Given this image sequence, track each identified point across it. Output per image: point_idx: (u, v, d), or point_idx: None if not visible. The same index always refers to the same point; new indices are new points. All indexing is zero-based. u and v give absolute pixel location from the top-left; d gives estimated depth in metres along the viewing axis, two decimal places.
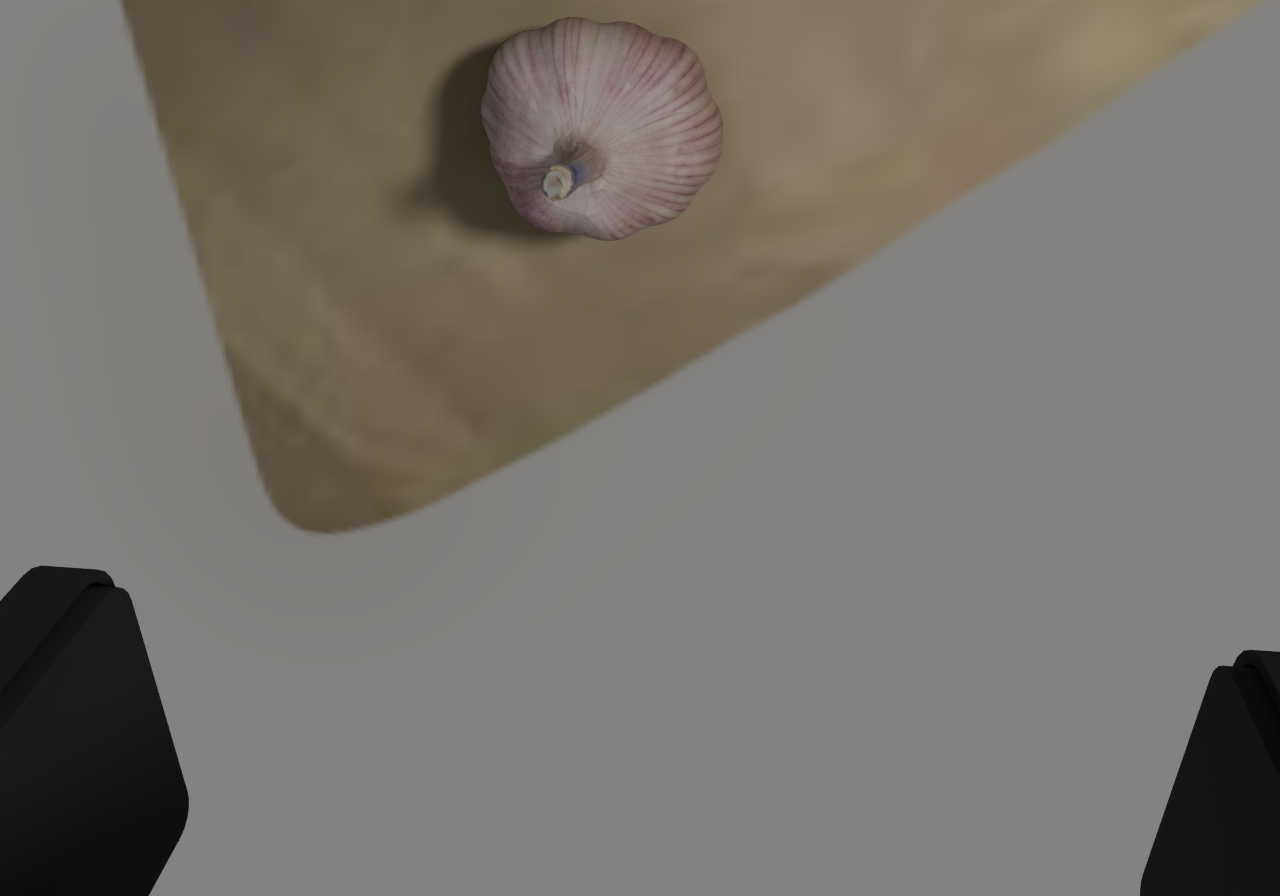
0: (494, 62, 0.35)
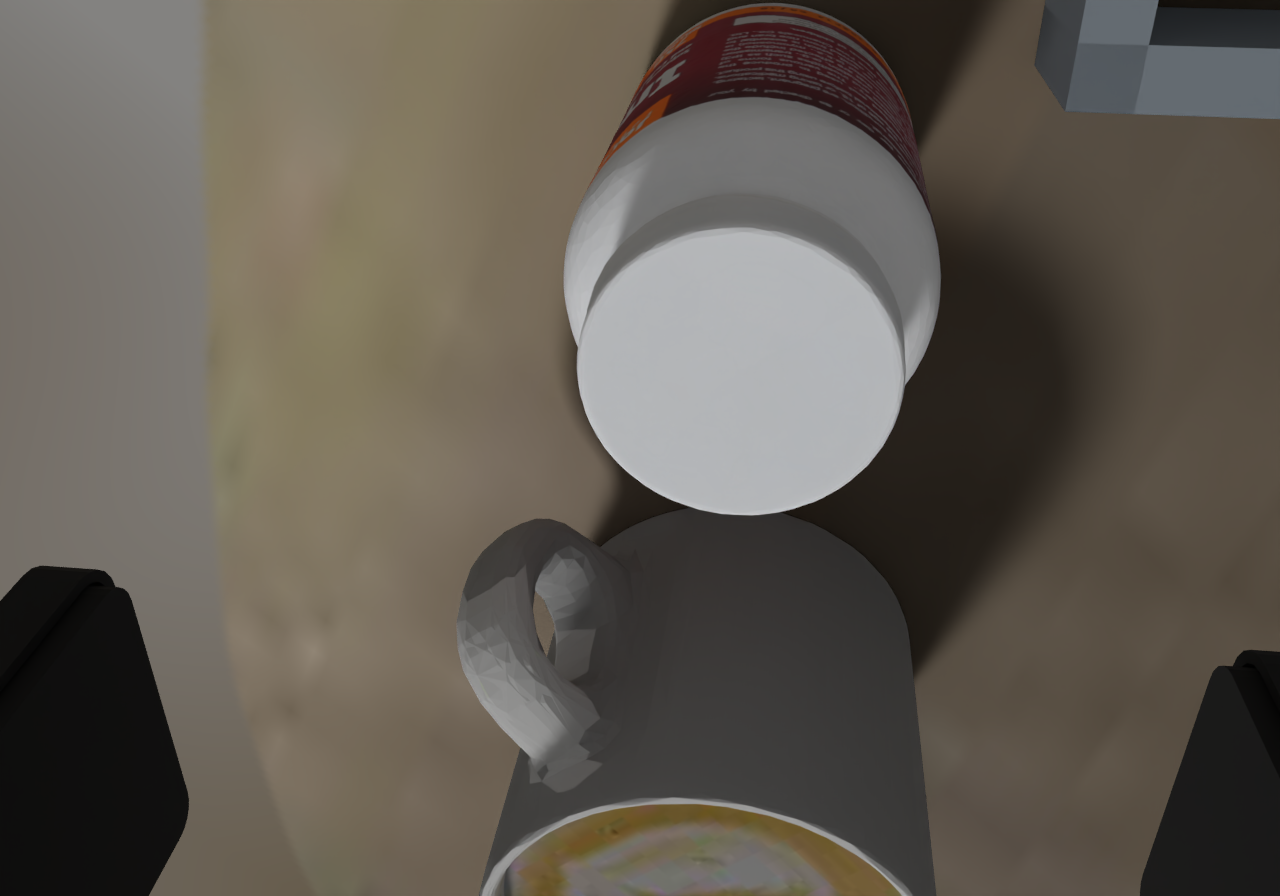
0: None
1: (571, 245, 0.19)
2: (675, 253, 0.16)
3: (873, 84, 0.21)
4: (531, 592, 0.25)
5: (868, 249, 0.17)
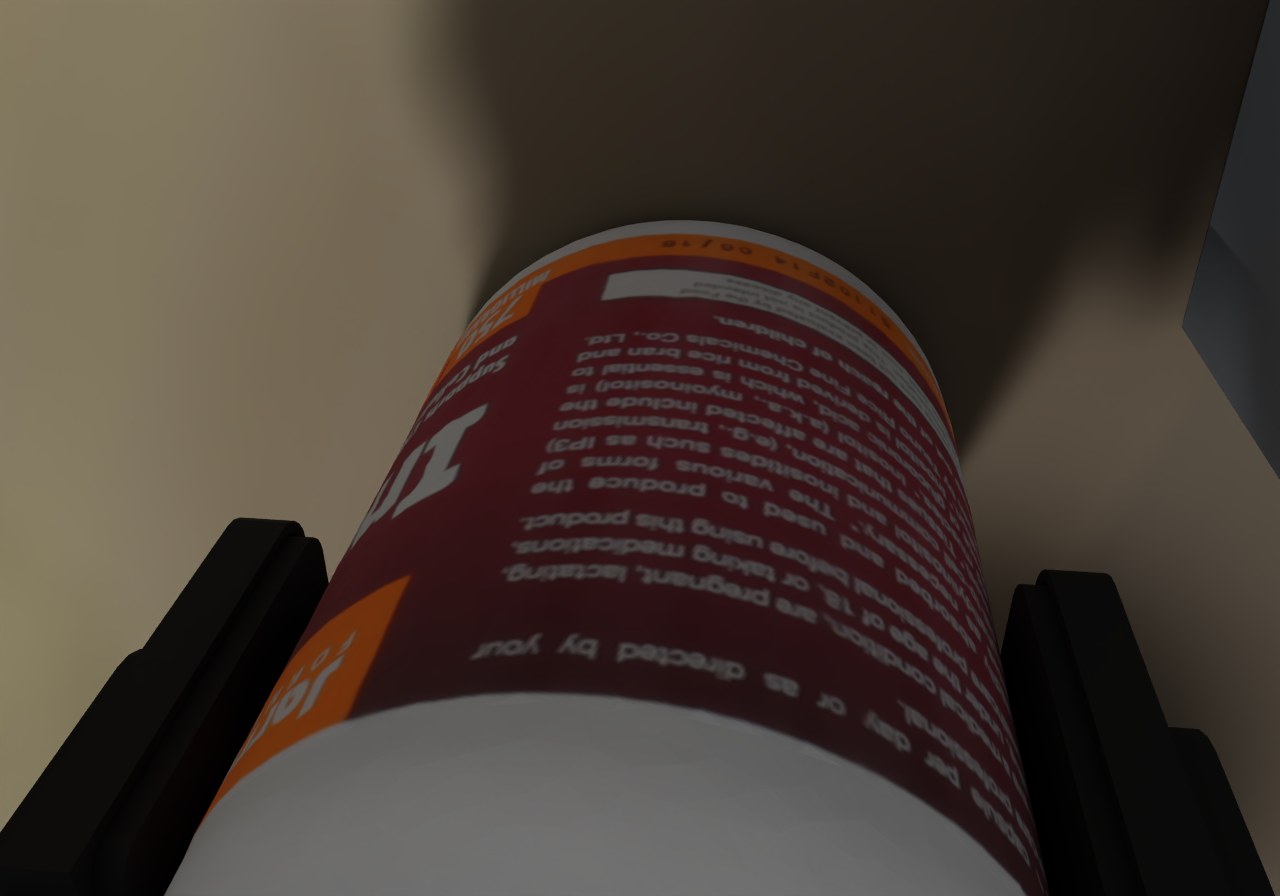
0: None
1: None
2: None
3: (892, 465, 0.10)
4: None
5: None
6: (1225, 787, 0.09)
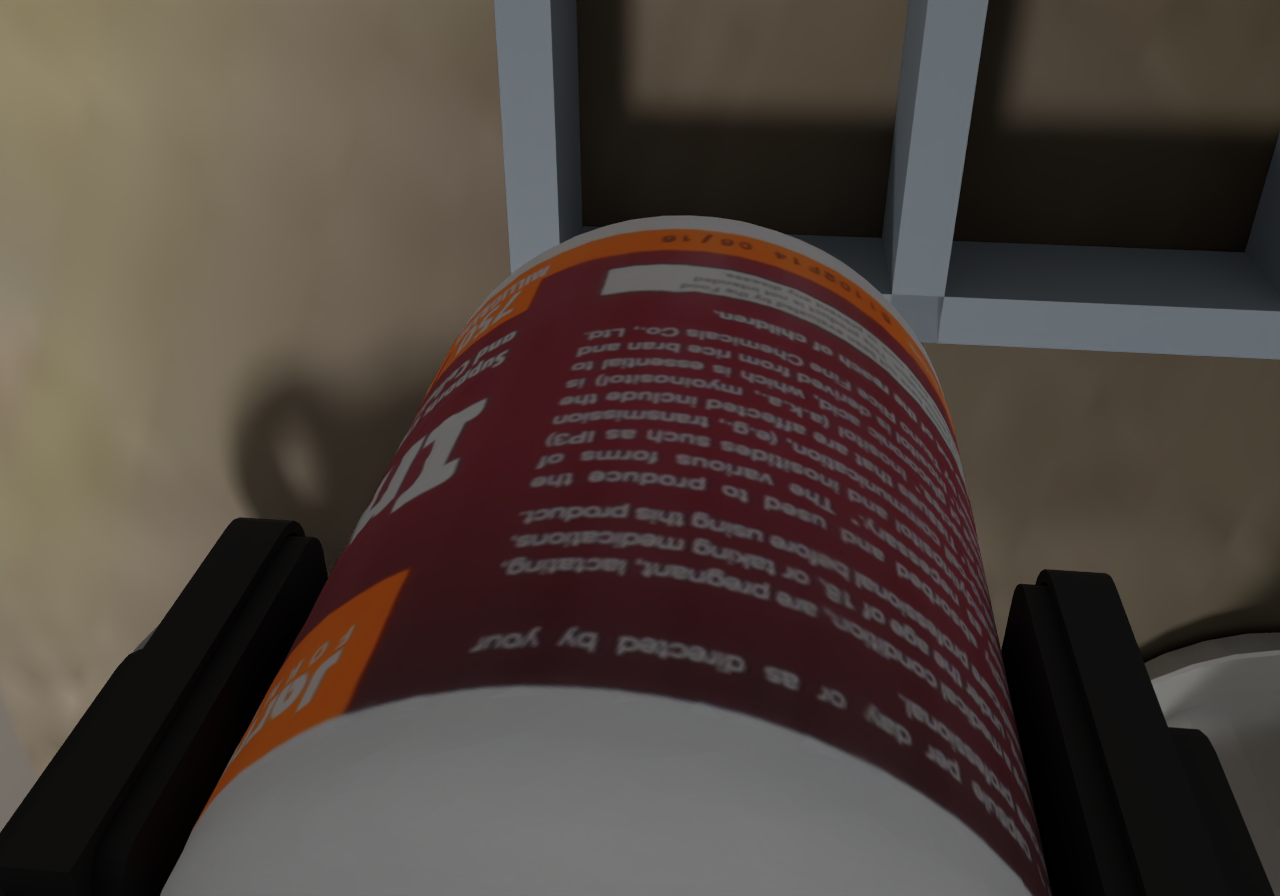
0: None
1: None
2: None
3: (892, 460, 0.10)
4: None
5: None
6: (1224, 787, 0.09)
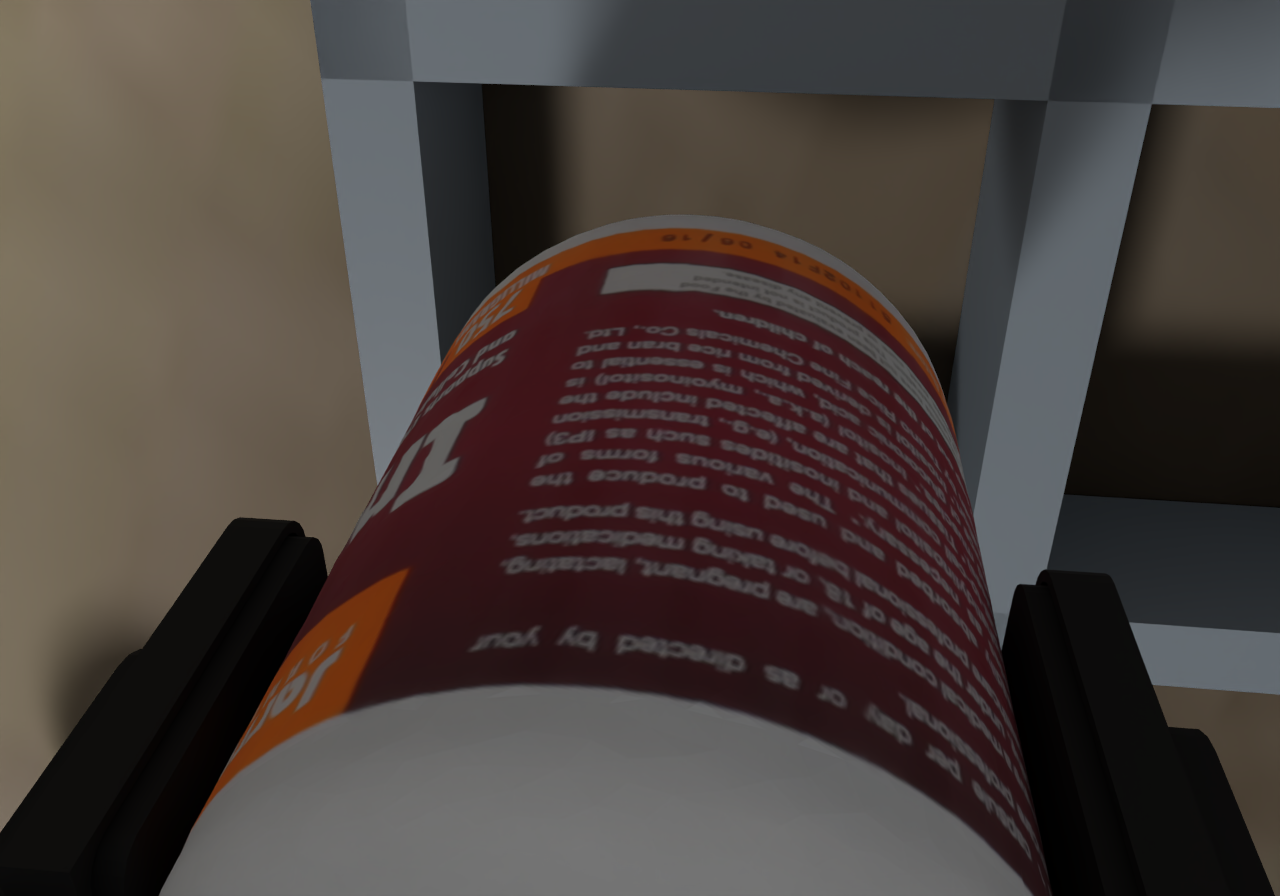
0: None
1: None
2: None
3: (892, 459, 0.10)
4: None
5: None
6: (1225, 787, 0.09)
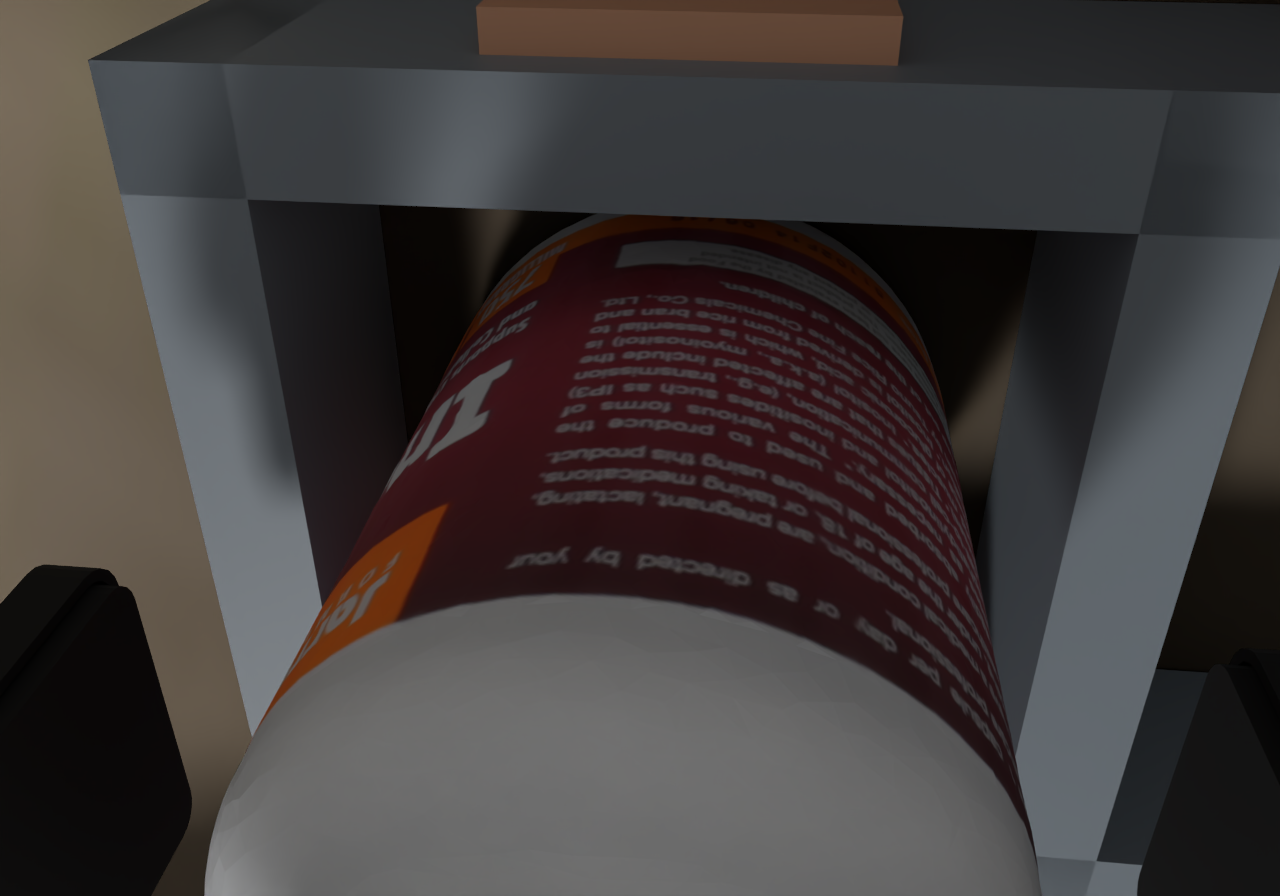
0: None
1: (206, 884, 0.08)
2: None
3: (883, 416, 0.11)
4: None
5: None
6: None
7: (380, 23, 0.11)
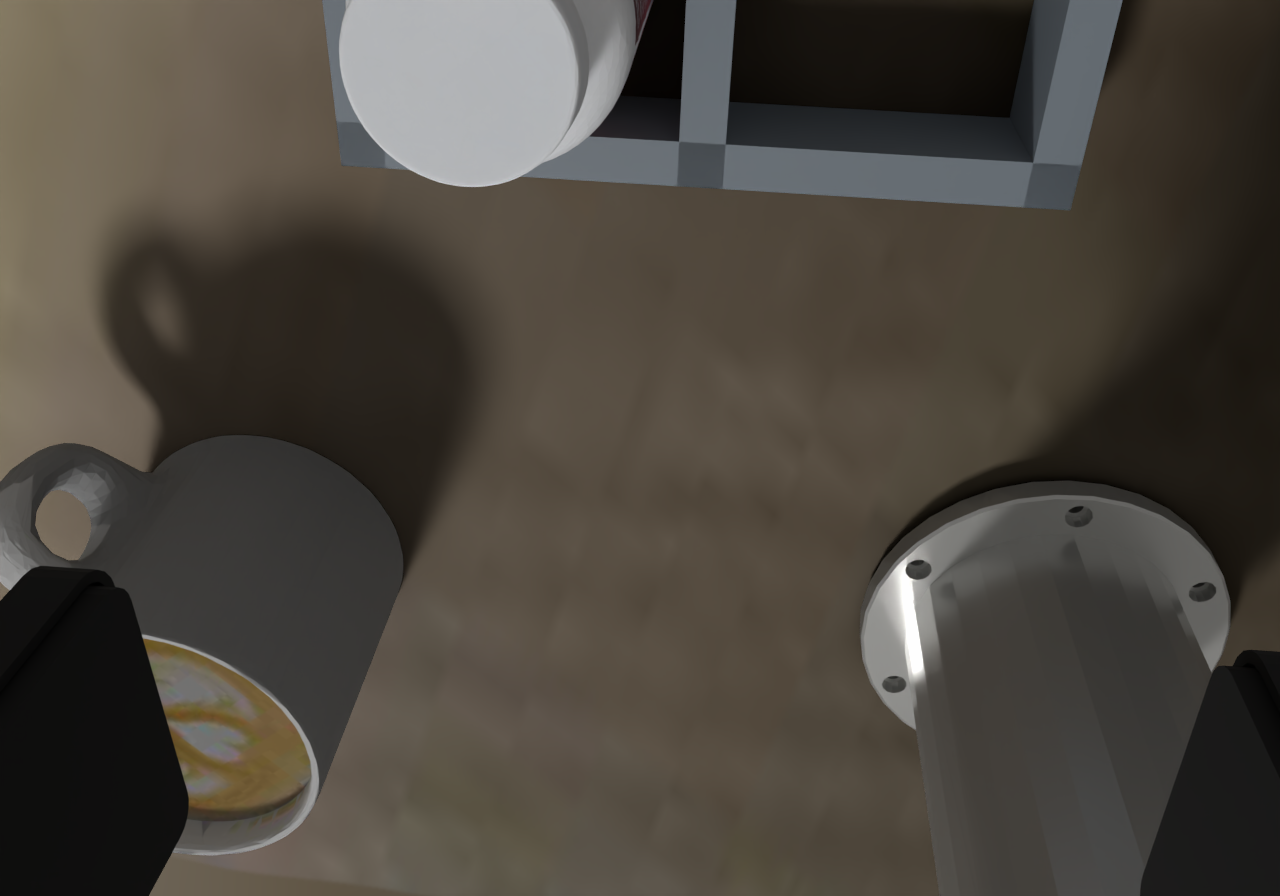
0: None
1: None
2: None
3: None
4: (34, 494, 0.35)
5: None
6: None
7: None
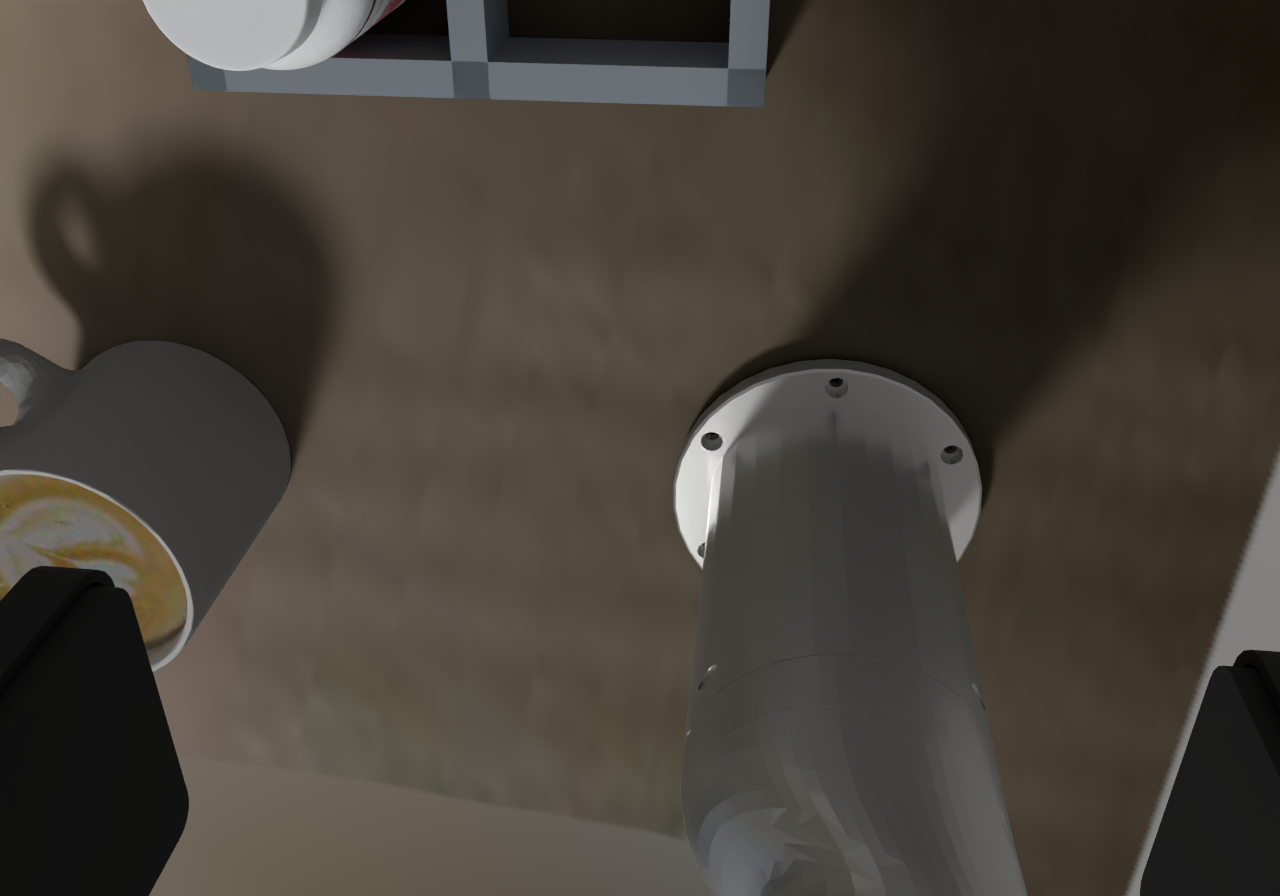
0: None
1: None
2: None
3: None
4: None
5: None
6: None
7: None
